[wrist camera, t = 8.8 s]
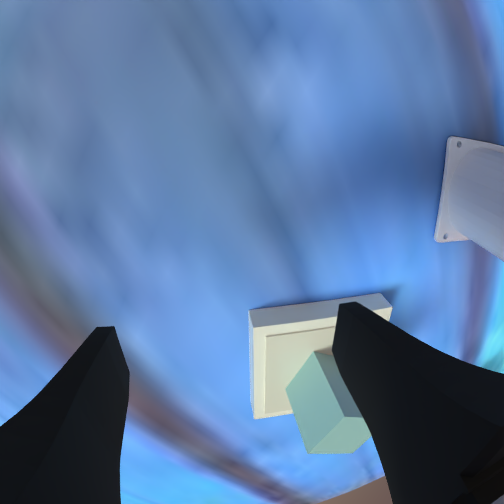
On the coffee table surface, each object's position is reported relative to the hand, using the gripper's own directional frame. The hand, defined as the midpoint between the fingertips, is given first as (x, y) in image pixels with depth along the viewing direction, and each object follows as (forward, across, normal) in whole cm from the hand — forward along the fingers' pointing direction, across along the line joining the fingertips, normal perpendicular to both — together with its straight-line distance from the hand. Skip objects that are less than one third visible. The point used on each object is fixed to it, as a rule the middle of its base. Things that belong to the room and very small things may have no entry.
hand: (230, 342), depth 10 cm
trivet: (+10, -7, +11) cm, 17 cm away
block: (+8, -7, +11) cm, 15 cm away
